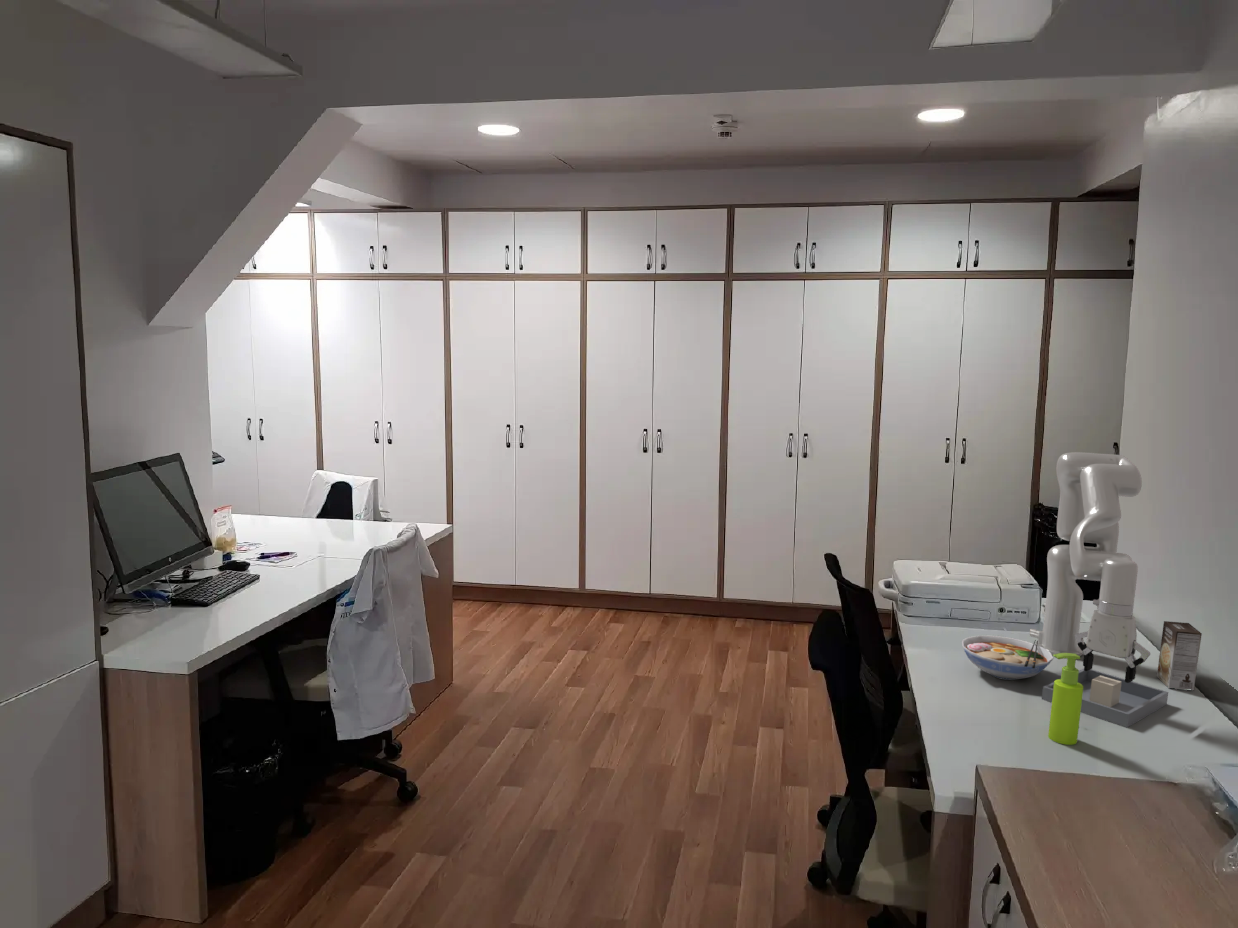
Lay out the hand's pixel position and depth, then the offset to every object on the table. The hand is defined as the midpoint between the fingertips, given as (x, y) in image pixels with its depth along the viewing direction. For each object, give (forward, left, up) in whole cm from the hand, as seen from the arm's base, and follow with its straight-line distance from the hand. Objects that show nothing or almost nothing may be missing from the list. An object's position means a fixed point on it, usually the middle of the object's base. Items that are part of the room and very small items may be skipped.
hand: (1108, 675), depth 222 cm
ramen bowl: (-25, -2, -8) cm, 27 cm away
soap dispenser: (+3, -30, -8) cm, 31 cm away
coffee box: (+5, +32, -8) cm, 34 cm away
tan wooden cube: (0, 0, -7) cm, 7 cm away
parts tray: (0, 0, -8) cm, 8 cm away
